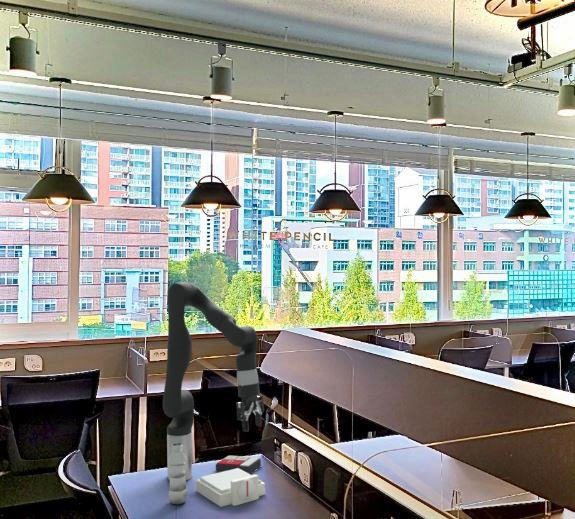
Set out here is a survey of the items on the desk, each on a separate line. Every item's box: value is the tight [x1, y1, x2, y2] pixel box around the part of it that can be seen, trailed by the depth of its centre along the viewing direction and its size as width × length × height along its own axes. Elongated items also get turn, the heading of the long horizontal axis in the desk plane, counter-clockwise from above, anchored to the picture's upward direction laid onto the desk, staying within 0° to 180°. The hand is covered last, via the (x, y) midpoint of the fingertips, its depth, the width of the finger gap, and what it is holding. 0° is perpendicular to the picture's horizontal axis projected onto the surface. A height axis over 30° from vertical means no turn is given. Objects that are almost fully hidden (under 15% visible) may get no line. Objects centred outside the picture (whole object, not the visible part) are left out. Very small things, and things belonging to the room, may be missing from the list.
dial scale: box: [195, 468, 266, 507], centre depth 212 cm, size 21×18×8 cm
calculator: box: [215, 455, 262, 475], centre depth 239 cm, size 11×4×15 cm
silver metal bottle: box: [167, 443, 188, 505], centre depth 205 cm, size 6×7×20 cm
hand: (252, 428), depth 211 cm, fingers open, 8 cm apart
